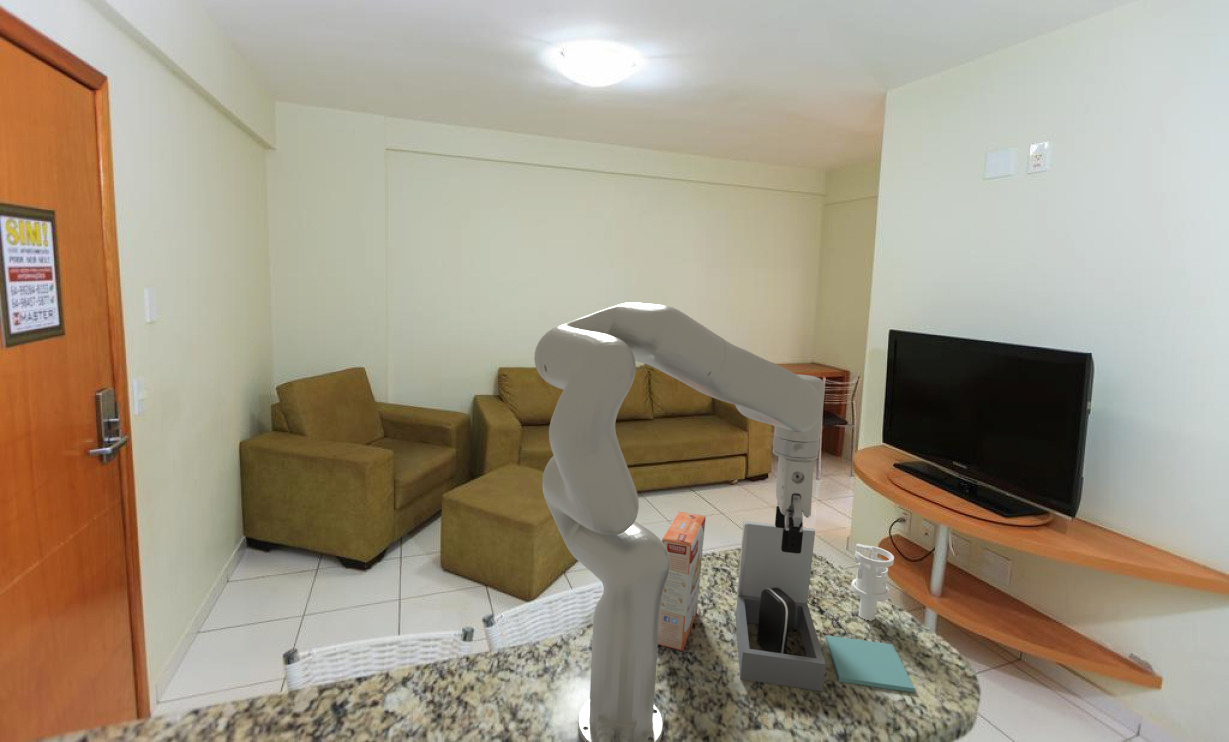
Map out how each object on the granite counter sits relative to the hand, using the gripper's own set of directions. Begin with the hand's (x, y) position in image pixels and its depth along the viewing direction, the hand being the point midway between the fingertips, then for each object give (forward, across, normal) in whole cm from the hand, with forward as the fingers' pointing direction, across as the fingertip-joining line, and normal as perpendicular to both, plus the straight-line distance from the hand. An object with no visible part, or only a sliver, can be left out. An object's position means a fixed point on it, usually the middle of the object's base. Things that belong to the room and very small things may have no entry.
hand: (787, 539), depth 102 cm
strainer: (+22, +16, -20) cm, 33 cm away
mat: (+22, 0, -16) cm, 27 cm away
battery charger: (+22, 0, 0) cm, 22 cm away
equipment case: (+22, 0, 0) cm, 22 cm away
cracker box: (+22, +3, +18) cm, 29 cm away
